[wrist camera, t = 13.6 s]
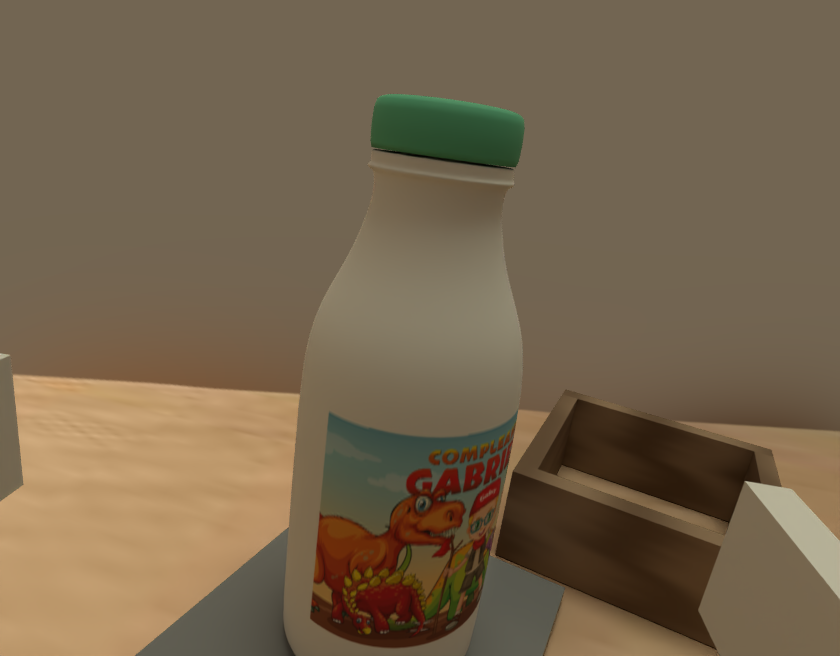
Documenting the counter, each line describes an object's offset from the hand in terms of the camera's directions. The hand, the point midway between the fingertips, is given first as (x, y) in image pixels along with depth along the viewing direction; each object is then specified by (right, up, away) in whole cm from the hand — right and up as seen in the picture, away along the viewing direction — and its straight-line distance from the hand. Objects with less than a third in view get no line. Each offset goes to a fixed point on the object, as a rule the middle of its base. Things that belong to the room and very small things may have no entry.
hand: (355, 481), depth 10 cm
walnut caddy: (+13, -9, +22) cm, 27 cm away
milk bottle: (-1, -9, +13) cm, 16 cm away
